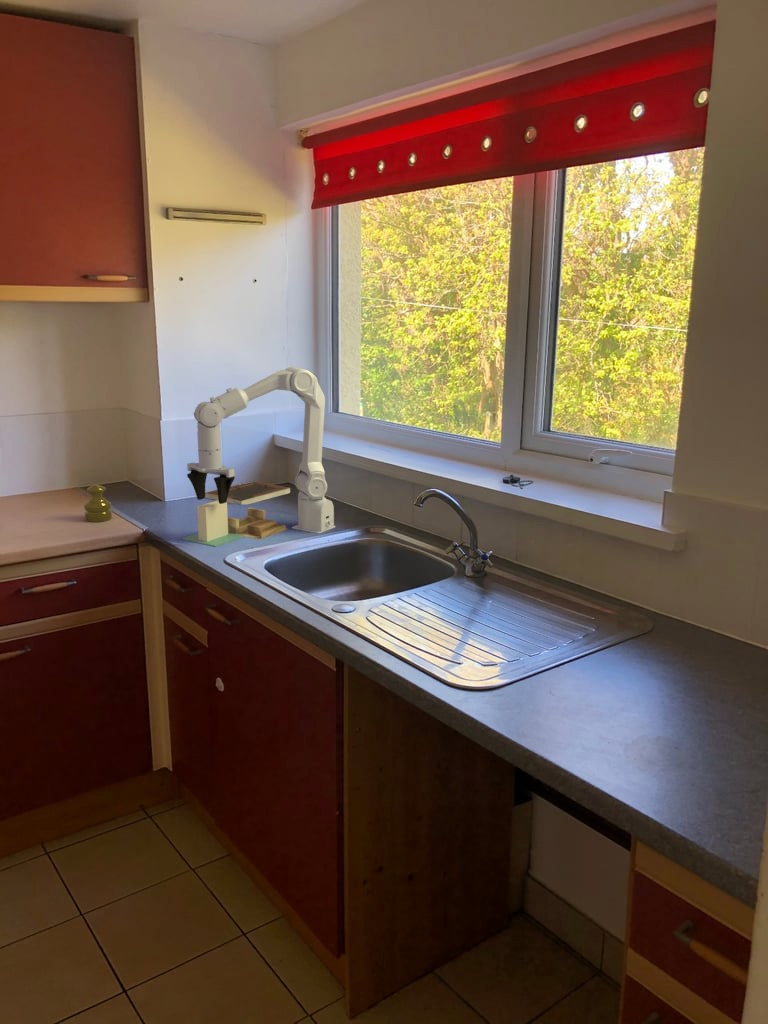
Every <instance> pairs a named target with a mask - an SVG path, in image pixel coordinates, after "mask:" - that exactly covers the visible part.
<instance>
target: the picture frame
mask: <svg viewBox="0 0 768 1024" xmlns="http://www.w3.org/2000/svg"><path fill="white" fill-rule="evenodd" d="M246 483H247V482H246ZM240 484H241V485H239V484H235V485H231V487H230V489H229V493H228V497H227V504H231V505H235V504H239V505H246V506H247V505H250V504H254V503H258V502H261V501H265V500H269V499H273V498H277V497H279V496H284V495H287V494H290V493H291V487H286V486H281V485H276V484H272V483H271V484H270V483H266V482H261V481H257V482H253V483H247V484H243V483H240ZM204 499H209V500H213V501H217V500H218V491H217V489H215V490H211V491H205V498H204Z"/></svg>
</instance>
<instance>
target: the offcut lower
mask: <svg viewBox="0 0 768 1024" xmlns="http://www.w3.org/2000/svg"><path fill="white" fill-rule="evenodd" d="M277 525H278V526H275V527H273V528H270V529H267V530H264V531H261V532H257V531H252V530H248V534H251V535H256V536H260V533H263V532H265V531H268V530H271V529H274V528H277V527H279V526H281V525H280V524H277Z"/></svg>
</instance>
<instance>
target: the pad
mask: <svg viewBox="0 0 768 1024" xmlns="http://www.w3.org/2000/svg"><path fill="white" fill-rule="evenodd" d="M245 537H246V536H243V535H239V534H234V533H229V532H228V535H225V536H222V537H219V538H216V539H213V540H211V541H208V542H206V541H202V540H199V537H198V532H197V533H195V534H192V535H189V536H185V537H181V540H183V541H187V542H192V543H197V544H201V545H206V546H210V547H215V548H217V547H219V546H223V545H226V544H228V543H231V542H233V541H237V540H240V539H243V538H245Z"/></svg>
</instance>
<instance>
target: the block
mask: <svg viewBox="0 0 768 1024" xmlns="http://www.w3.org/2000/svg"><path fill="white" fill-rule="evenodd" d="M196 513H197V514H196V516H197V533H198V537H199V540H202V541H206V542H208V541H211V540H213V539H216V538H219V537H222V536H225V535H228V517H229V516H228V503H227V502H226V503H223V504H219V500H213V501H210V502H207V503H204V504H200V505H197V506H196Z"/></svg>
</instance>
